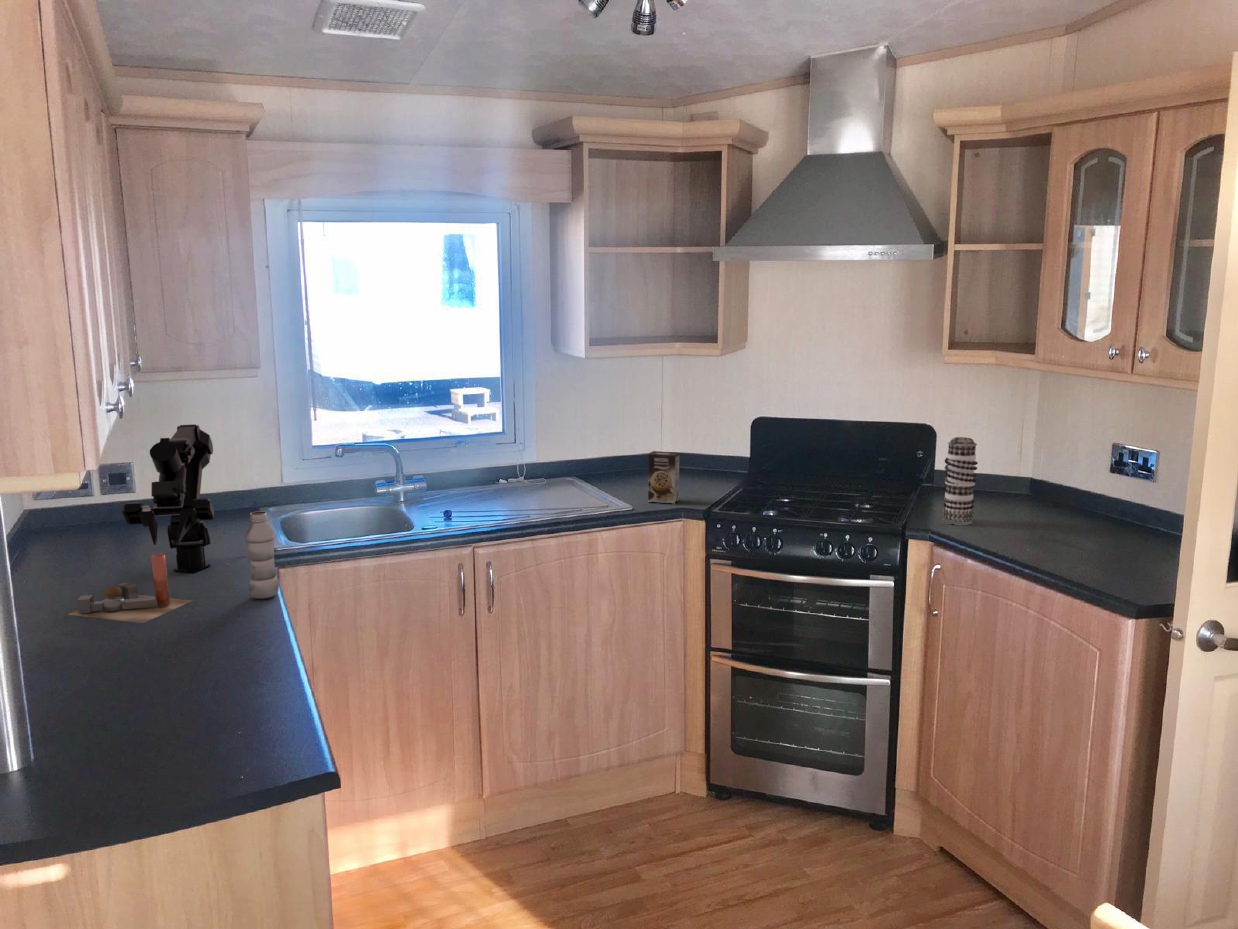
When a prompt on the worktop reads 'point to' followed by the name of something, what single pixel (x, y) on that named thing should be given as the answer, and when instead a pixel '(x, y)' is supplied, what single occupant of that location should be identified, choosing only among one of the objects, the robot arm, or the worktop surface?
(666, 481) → the cookie box
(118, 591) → the walnut
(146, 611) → the wooden board
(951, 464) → the decorative candle
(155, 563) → the lever
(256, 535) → the plastic bottle
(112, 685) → the worktop surface
